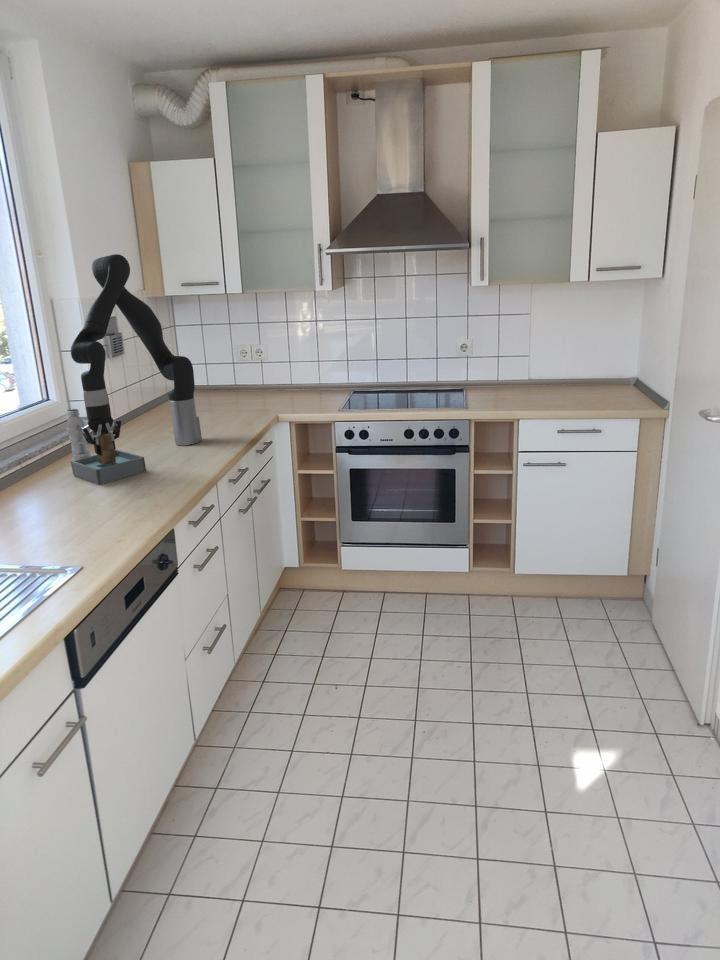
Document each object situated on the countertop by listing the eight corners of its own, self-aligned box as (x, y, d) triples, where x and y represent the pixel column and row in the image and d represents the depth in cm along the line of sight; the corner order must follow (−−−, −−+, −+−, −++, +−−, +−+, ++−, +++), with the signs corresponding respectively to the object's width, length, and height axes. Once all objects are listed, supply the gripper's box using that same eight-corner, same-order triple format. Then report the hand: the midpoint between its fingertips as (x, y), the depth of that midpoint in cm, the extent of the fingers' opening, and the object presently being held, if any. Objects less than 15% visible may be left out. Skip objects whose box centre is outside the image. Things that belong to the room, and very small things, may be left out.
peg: (110, 460, 240) (105, 431, 237) (116, 461, 237) (111, 433, 234) (99, 463, 237) (94, 434, 234) (105, 464, 234) (99, 435, 231)
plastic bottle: (72, 469, 246) (61, 413, 240) (74, 464, 252) (64, 409, 246) (92, 466, 247) (81, 411, 241) (93, 461, 254) (83, 407, 247)
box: (119, 463, 250) (116, 449, 248) (146, 471, 238) (143, 457, 237) (73, 475, 238) (70, 461, 237) (99, 484, 226) (96, 470, 225)
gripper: (111, 397, 238) (119, 446, 243) (70, 406, 228) (80, 456, 234) (122, 400, 233) (130, 450, 238) (81, 408, 223) (91, 460, 229)
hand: (105, 453), depth 236 cm, fingers closed on peg, 4 cm apart
